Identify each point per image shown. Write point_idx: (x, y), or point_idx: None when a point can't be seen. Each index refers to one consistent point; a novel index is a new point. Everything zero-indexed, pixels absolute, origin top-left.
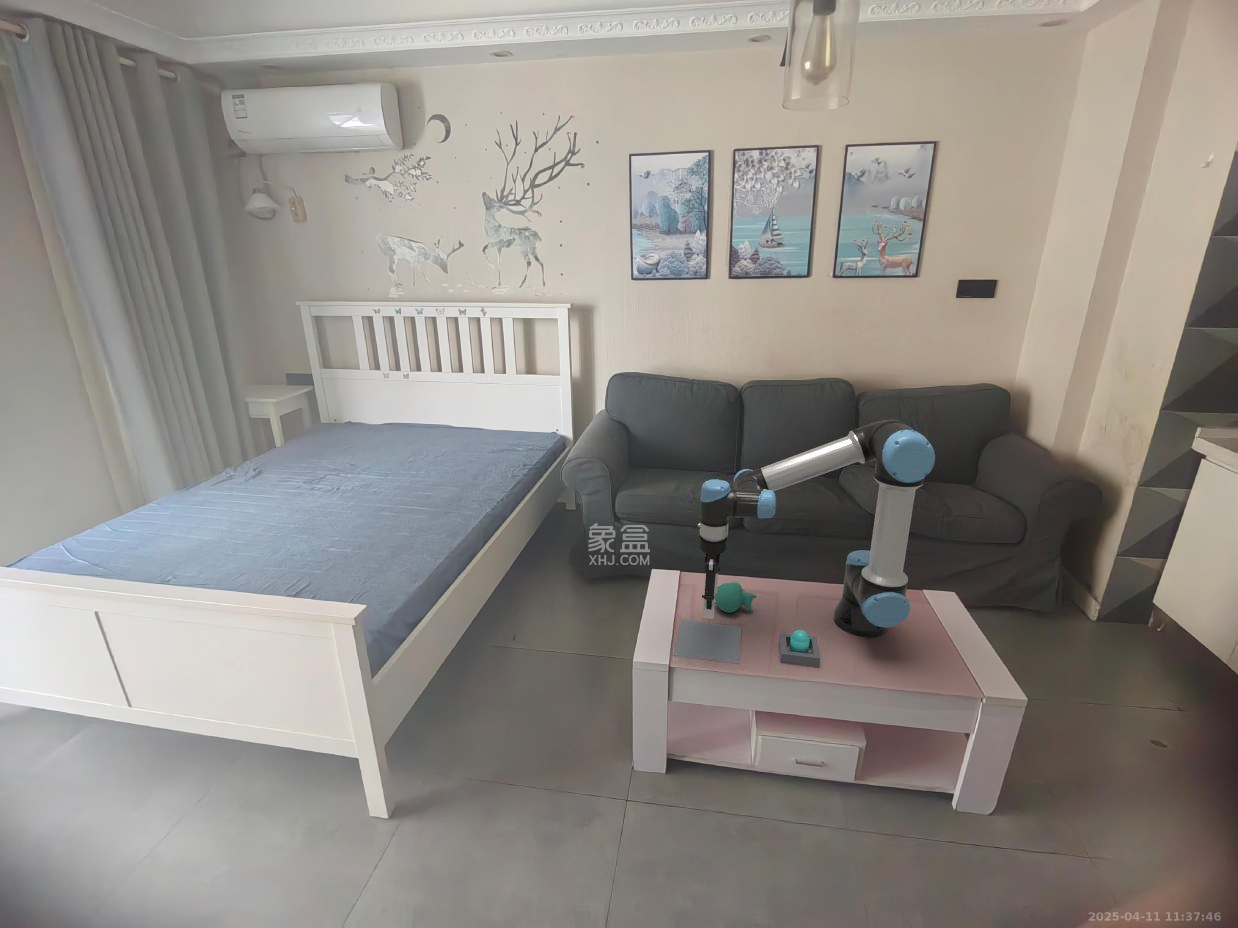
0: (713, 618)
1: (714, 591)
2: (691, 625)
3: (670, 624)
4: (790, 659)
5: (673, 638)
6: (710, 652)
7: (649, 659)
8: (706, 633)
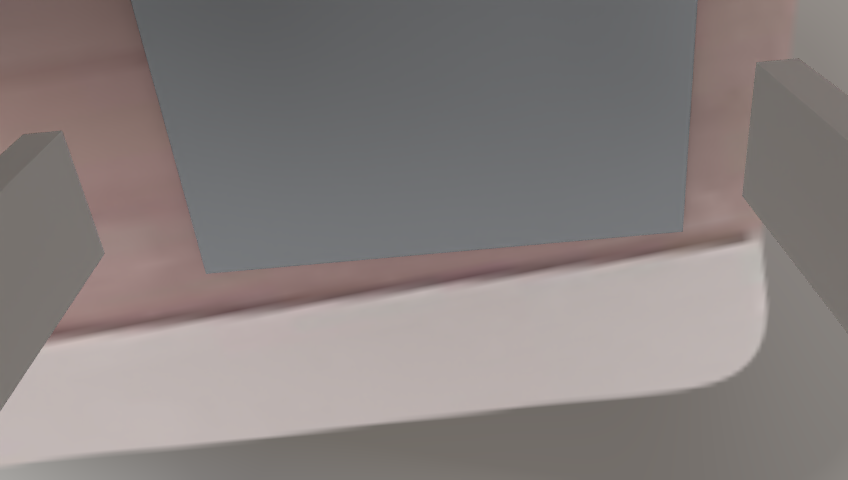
0: (802, 62)
1: (66, 176)
2: (249, 188)
3: (289, 325)
4: None
5: (458, 271)
6: None
7: (738, 355)
8: (314, 50)
